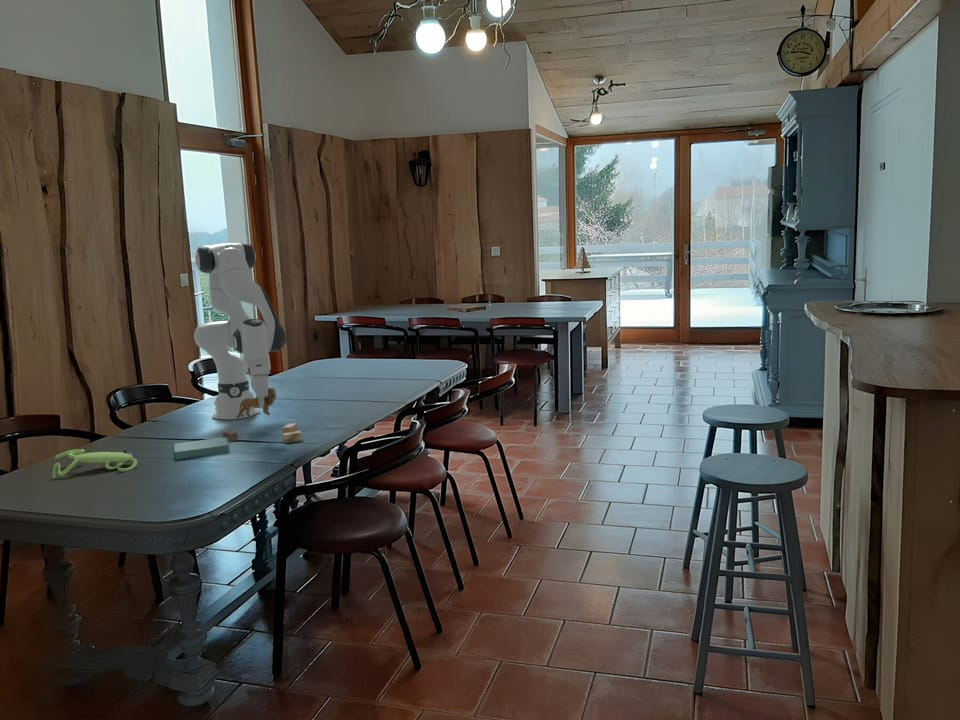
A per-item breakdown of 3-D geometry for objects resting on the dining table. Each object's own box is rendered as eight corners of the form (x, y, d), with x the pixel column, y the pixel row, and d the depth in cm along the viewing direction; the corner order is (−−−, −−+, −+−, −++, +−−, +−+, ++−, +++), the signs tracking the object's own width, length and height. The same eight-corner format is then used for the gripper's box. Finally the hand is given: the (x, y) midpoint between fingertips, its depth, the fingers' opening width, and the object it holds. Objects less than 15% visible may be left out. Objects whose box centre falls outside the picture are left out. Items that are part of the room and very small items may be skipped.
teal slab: (175, 450, 269) (174, 443, 269) (227, 443, 275) (226, 436, 275) (175, 459, 258) (174, 452, 258) (229, 452, 264) (228, 444, 264)
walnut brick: (222, 439, 282) (221, 431, 282) (230, 437, 284) (229, 429, 284) (230, 442, 278) (229, 434, 278) (238, 440, 280) (237, 432, 280)
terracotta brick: (289, 431, 290) (289, 423, 289) (297, 431, 289) (296, 423, 289) (283, 435, 284) (282, 427, 284) (291, 435, 284) (290, 427, 283)
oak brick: (285, 443, 273) (284, 435, 272) (283, 441, 275) (282, 433, 275) (302, 440, 276) (301, 432, 275) (299, 438, 278) (299, 430, 278)
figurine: (60, 464, 260) (58, 448, 259) (146, 456, 265) (144, 440, 264) (42, 481, 242) (39, 463, 241) (134, 472, 247) (132, 454, 246)
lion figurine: (276, 409, 282) (273, 385, 280) (280, 412, 277) (277, 388, 276) (235, 418, 275) (231, 393, 273) (238, 421, 270) (235, 396, 268)
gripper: (245, 362, 282) (248, 399, 284) (250, 371, 263) (254, 411, 266) (263, 360, 284) (266, 397, 287) (270, 369, 265) (273, 409, 268)
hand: (260, 404), depth 276 cm, fingers closed on lion figurine, 4 cm apart
